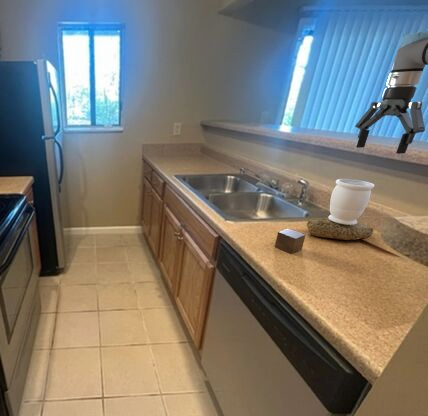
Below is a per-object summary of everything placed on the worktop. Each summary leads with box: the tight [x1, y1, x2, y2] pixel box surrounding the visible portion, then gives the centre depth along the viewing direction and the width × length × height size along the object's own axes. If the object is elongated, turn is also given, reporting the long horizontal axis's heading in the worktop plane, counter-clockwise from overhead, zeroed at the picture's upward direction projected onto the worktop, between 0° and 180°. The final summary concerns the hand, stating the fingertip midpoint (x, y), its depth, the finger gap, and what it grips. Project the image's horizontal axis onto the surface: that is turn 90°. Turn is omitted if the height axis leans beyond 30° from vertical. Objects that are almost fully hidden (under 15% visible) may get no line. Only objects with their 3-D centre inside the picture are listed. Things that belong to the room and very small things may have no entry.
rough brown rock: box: [306, 218, 374, 241], centre depth 104 cm, size 13×8×20 cm
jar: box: [327, 178, 375, 225], centre depth 100 cm, size 11×10×15 cm
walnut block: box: [274, 228, 307, 255], centre depth 96 cm, size 6×6×6 cm
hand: (379, 150), depth 99 cm, fingers open, 13 cm apart
